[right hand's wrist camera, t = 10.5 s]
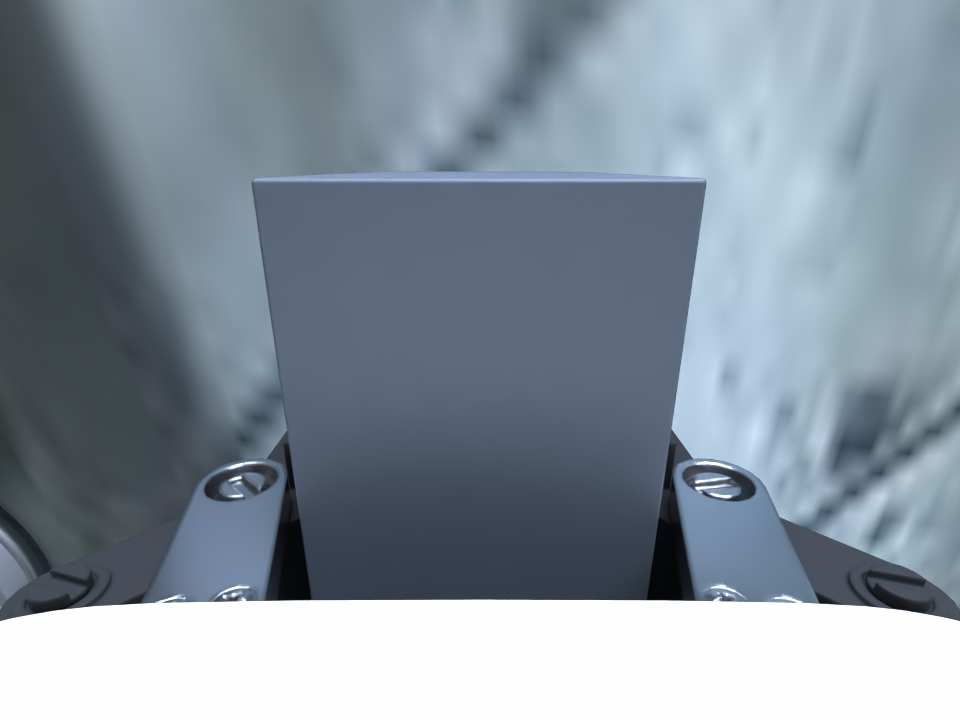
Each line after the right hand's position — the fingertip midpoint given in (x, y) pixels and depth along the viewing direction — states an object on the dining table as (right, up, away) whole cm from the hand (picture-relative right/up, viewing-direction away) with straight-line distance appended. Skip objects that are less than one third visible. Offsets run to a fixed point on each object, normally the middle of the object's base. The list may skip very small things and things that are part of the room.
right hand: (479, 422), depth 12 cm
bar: (0, -23, +11) cm, 25 cm away
